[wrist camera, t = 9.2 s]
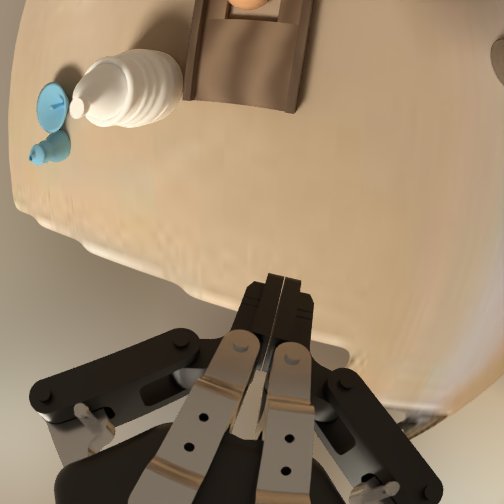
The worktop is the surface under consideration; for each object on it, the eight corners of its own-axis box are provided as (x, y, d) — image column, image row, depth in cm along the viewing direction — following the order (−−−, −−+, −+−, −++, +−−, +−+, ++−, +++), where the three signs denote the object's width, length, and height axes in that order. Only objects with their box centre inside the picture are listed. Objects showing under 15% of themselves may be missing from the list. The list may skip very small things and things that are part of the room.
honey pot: (199, 85, 37) (128, 91, 22) (147, 137, 44) (73, 170, 29) (152, 36, 33) (73, 26, 19) (107, 89, 40) (29, 106, 25)
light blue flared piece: (55, 77, 39) (23, 83, 32) (86, 83, 39) (52, 88, 32) (46, 153, 49) (18, 166, 42) (74, 165, 50) (44, 180, 42)
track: (320, -47, 21) (319, -55, 19) (295, 112, 37) (293, 113, 34) (214, -51, 23) (208, -58, 21) (190, 99, 39) (182, 100, 36)
